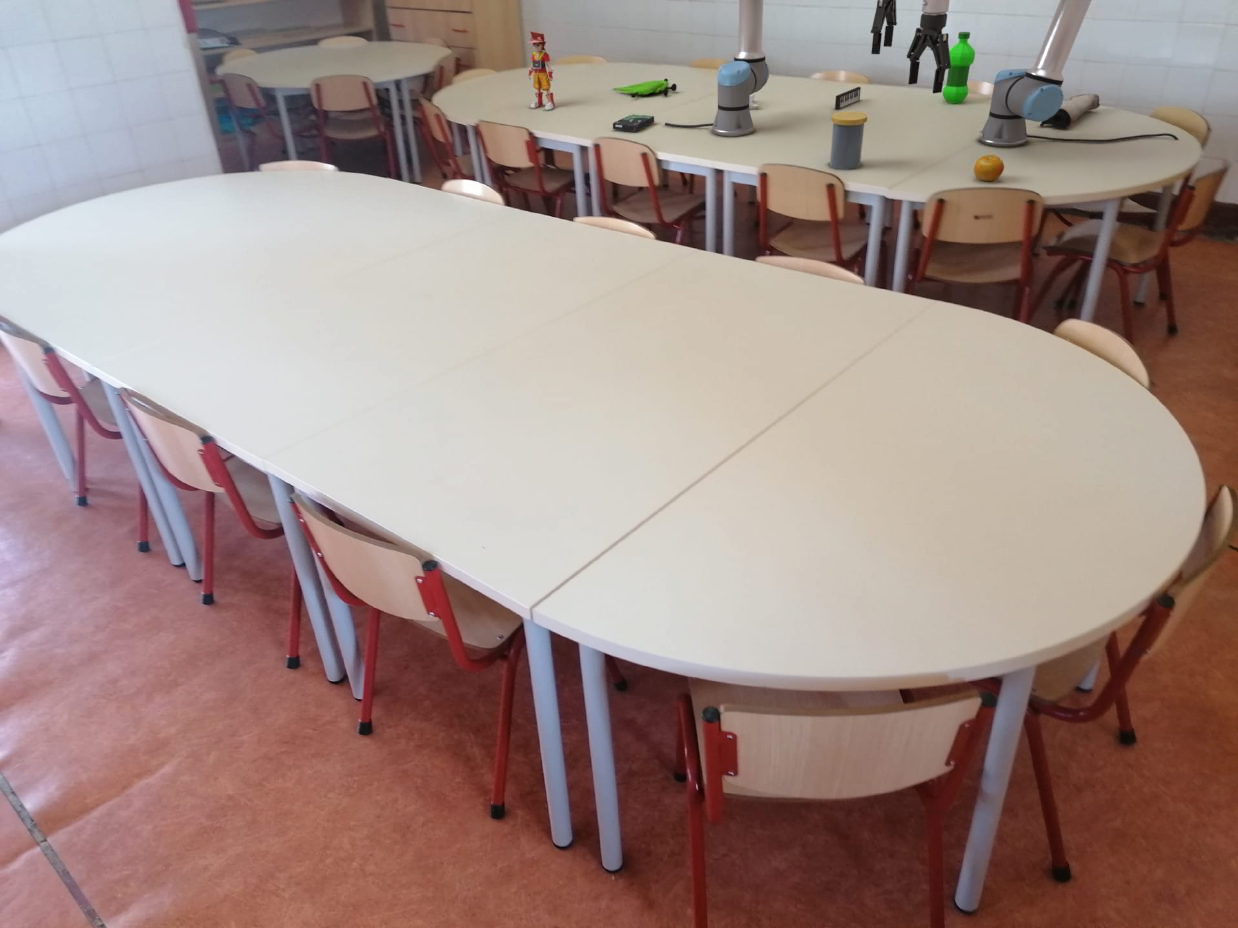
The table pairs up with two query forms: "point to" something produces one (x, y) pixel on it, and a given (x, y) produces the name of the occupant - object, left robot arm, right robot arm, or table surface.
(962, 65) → the plastic bottle
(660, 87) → the toy
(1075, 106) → the rolled mat
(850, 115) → the lid
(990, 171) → the fruit
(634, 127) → the disk drive
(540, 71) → the toy
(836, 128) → the jar
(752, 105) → the anatomical model
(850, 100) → the midi keyboard
